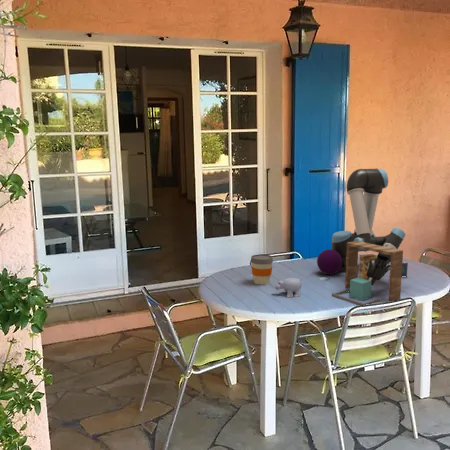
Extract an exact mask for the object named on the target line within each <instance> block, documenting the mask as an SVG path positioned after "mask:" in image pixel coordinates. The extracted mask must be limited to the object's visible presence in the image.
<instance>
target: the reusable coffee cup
mask: <svg viewBox="0 0 450 450" xmlns="http://www.w3.org/2000/svg"><path fill="white" fill-rule="evenodd" d="M250 262H251V266H250V267H251V268H250V269H251V274H252V276H253V283H254V284H255V285H260V286H261V285H263V286H264V285H268V284H270V282H271V276H272V273H273V263H274V259H273V256H272V255H270V254H263V253H262V254H261V253H259V254H258V253H257V254H254V255H251V257H250Z"/></svg>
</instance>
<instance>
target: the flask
mask: <svg viewBox="0 0 450 450" xmlns="http://www.w3.org/2000/svg"><path fill="white" fill-rule="evenodd" d="M408 265H409V264H408V262H407V261H402V276H407V277H408V267H409V266H408Z"/></svg>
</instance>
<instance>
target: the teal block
mask: <svg viewBox="0 0 450 450" xmlns="http://www.w3.org/2000/svg"><path fill="white" fill-rule="evenodd" d="M349 289H350V292H349V297H350V296H351V297H350V298H353V297H354V298H353V299H356V298H357V300H360V301H364V300H365V301H366V300H367V299H370V298H371V295H372V286H371V281H370V280H366V279H363V278H359V276H357V278H355V279H351V280H350V288H349Z"/></svg>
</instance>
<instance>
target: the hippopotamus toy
mask: <svg viewBox="0 0 450 450" xmlns="http://www.w3.org/2000/svg"><path fill="white" fill-rule="evenodd" d="M303 278H304V277H303V275H301V277H300V278H295V277H286V278H285V279H283V280H281V279H279V281H277V283H275V284H274V287H275V288H274V289H275V290H277V291H278V290H279V291H280V290H282V289H284V290H282V292H283V293H287V294H286V297H287V298H292V297H295V298H297V297H301V296H302V295H301V289H302V286H303V285H302V282H301V281H302V280H303Z"/></svg>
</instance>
